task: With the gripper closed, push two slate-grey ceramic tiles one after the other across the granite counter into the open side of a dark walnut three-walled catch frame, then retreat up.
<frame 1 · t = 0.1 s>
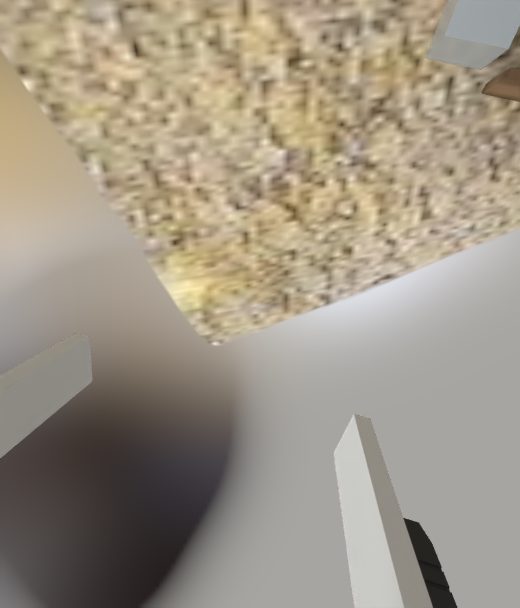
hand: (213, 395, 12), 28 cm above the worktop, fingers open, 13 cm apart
tile b: (467, 28, 25), on the worktop
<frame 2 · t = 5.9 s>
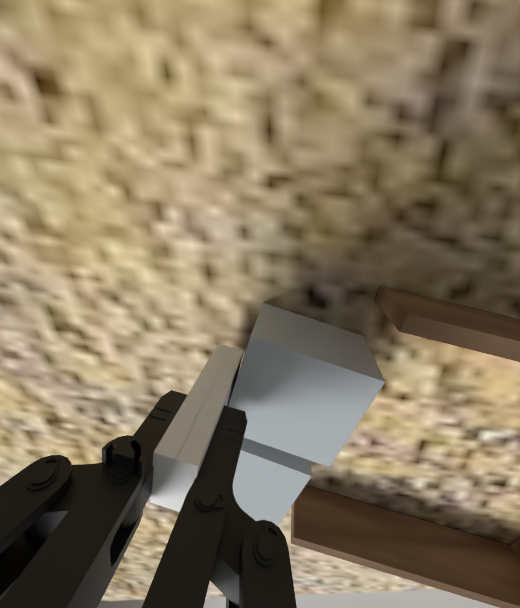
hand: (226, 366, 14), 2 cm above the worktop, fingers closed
tile a: (295, 358, 15), on the worktop, touching gripper
catch frame: (462, 446, 16), on the worktop
tile b: (255, 430, 18), on the worktop
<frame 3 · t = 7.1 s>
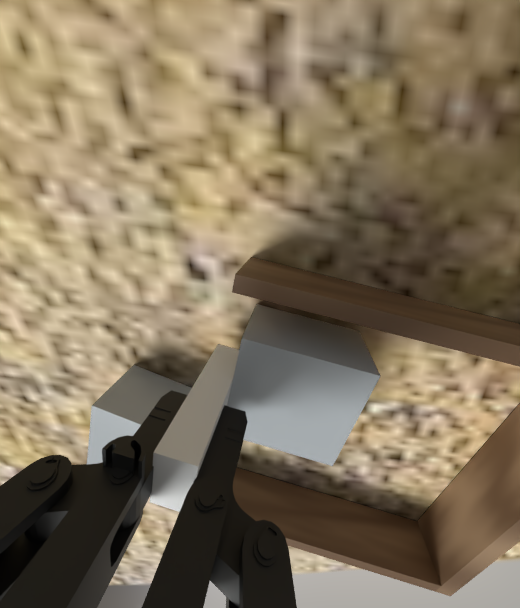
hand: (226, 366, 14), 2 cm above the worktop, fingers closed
tile a: (293, 358, 15), on the worktop
catch frame: (354, 419, 16), on the worktop
tile b: (166, 407, 19), on the worktop
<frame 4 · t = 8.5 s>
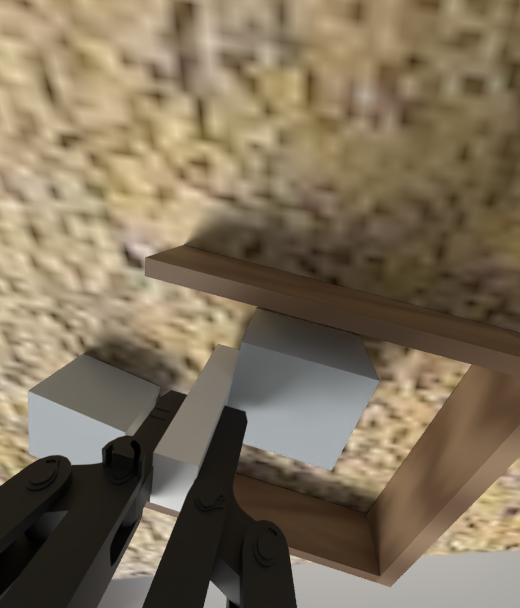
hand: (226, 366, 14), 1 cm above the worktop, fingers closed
tile a: (292, 362, 15), on the worktop
catch frame: (297, 410, 16), on the worktop
tile b: (118, 397, 19), on the worktop
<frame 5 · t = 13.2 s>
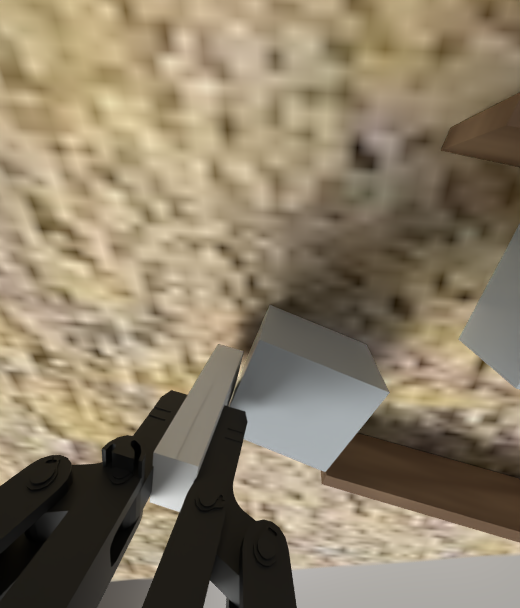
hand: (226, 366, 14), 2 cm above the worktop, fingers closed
tile b: (296, 362, 15), on the worktop
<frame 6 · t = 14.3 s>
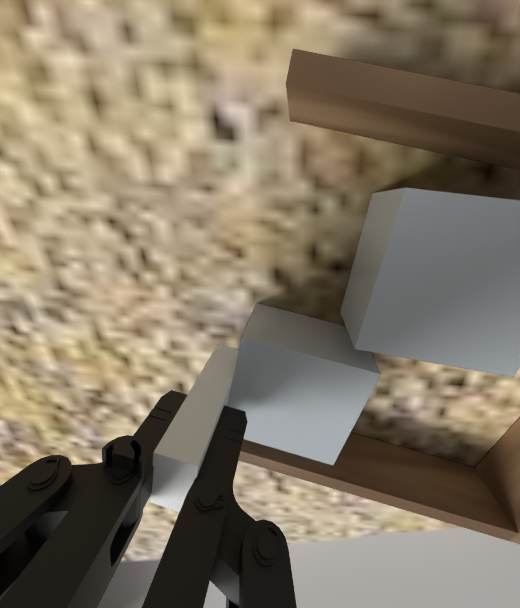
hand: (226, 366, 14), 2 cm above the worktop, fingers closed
tile a: (415, 266, 12), on the worktop
catch frame: (410, 332, 13), on the worktop
tile b: (293, 357, 15), on the worktop, touching gripper
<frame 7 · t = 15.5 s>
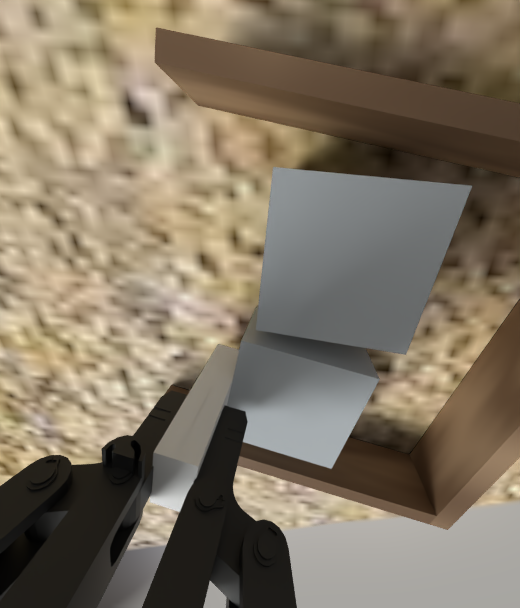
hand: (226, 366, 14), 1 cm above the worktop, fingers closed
tile a: (332, 251, 12), on the worktop
catch frame: (334, 318, 13), on the worktop
tile b: (292, 360, 15), on the worktop, touching gripper
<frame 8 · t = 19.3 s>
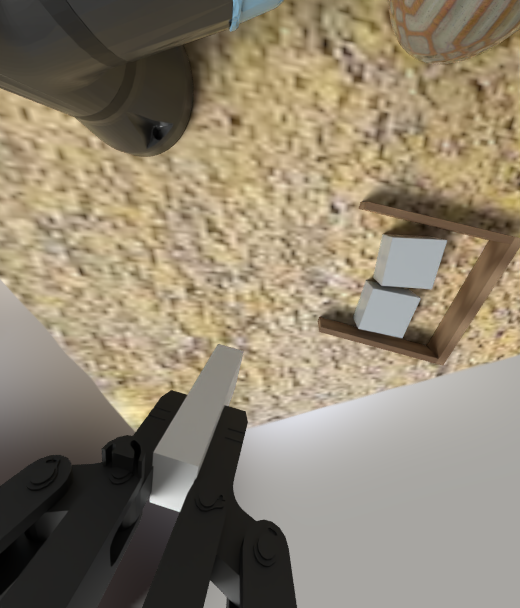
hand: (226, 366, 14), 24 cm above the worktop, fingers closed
tile a: (400, 257, 33), on the worktop
catch frame: (398, 283, 34), on the worktop
vase: (440, 7, 24), on the worktop
tile b: (379, 303, 36), on the worktop
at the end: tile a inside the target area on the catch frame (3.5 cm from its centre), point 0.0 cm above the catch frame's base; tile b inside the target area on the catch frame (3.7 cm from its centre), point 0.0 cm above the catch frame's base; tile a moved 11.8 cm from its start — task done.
